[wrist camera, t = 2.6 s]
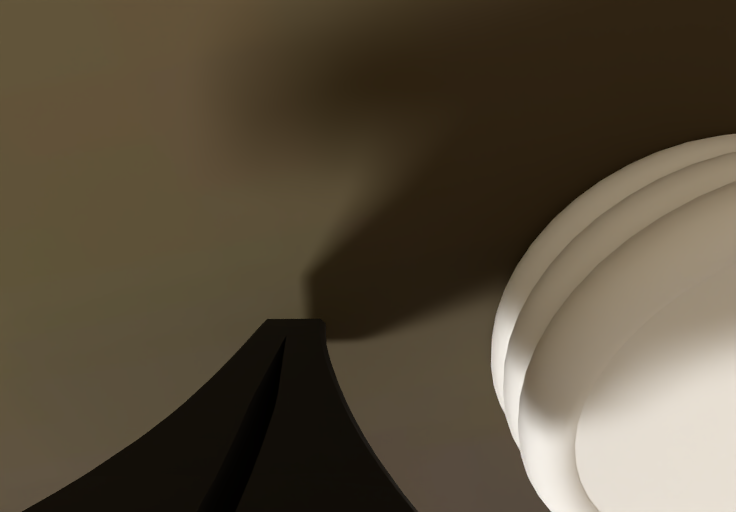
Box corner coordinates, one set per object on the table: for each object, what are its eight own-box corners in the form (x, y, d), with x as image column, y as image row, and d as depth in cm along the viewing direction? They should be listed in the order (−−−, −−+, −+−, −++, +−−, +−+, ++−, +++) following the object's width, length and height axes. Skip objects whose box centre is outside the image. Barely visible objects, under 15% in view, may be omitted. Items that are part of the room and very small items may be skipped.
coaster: (504, 132, 10) (574, 176, 7) (968, 120, 10) (1257, 157, 7) (471, 465, 14) (503, 589, 11) (795, 455, 14) (922, 576, 11)
